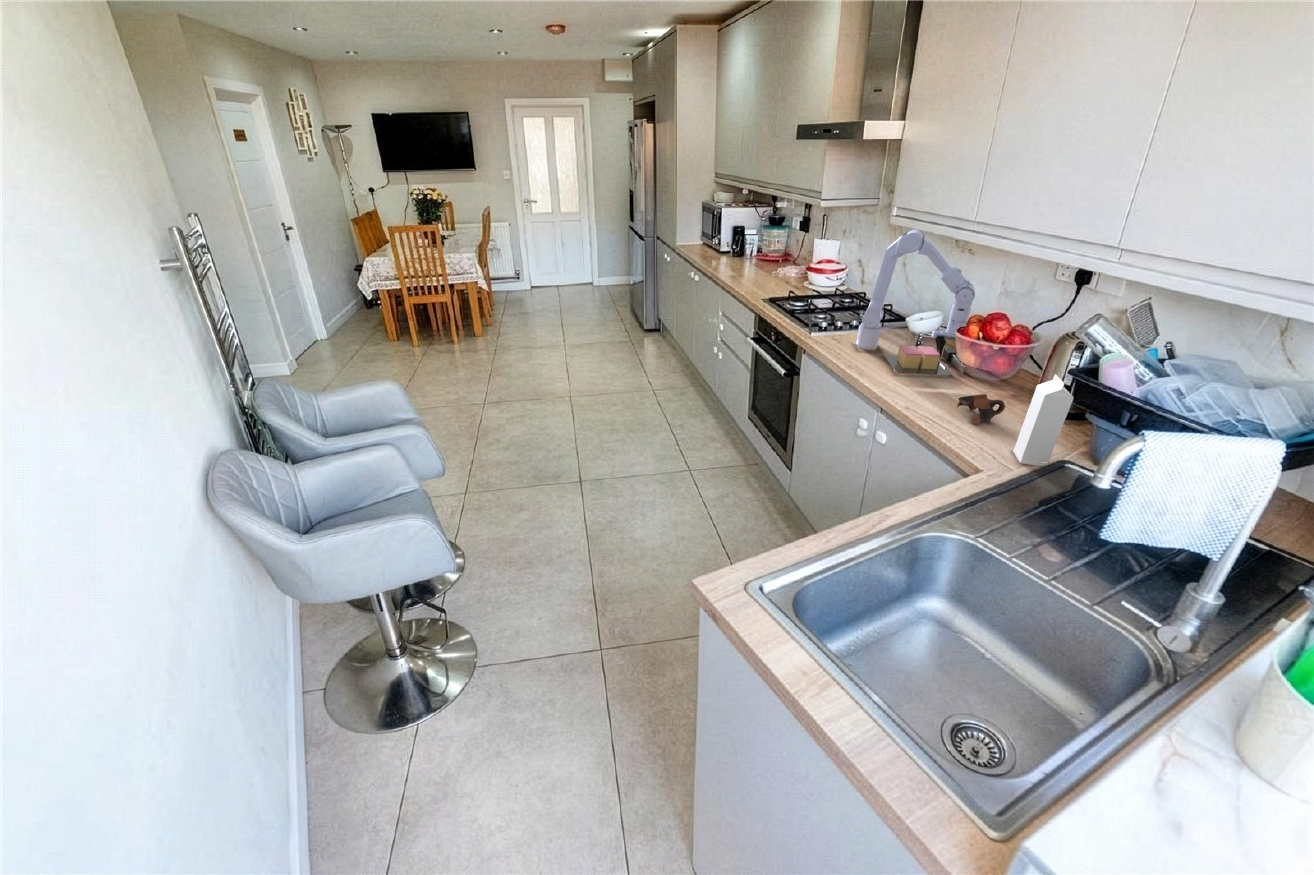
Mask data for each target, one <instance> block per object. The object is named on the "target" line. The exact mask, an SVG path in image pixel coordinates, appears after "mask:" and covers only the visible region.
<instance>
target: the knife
mask: <svg viewBox="0 0 1314 875" xmlns="http://www.w3.org/2000/svg"><path fill="white" fill-rule="evenodd" d="M956 354H957V351H955V350H954V349H953V348H952V347H944V348H943V351H942V355H941V358H943V359H944V360H945V361H946V362H950V363H951V365H952V366H953V367H954V368H955V369H956V370H957V371H958V372H959V373H960V374H961V375H964V374H965V371H966V367H965V366H966V365H965V366H961V363H960V361H961V360H960V359H959V358H957V357H956ZM958 359H959V360H960V361H959V360H958Z"/></svg>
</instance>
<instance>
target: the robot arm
mask: <svg viewBox="0 0 1314 875" xmlns="http://www.w3.org/2000/svg"><path fill="white" fill-rule="evenodd" d="M917 251H918V252H917ZM915 252H917V254H918V255H922V256H926V257H927V258H928V259H929V260H930V262H931V263H932V264H933V265H934V266H935V267H936V268H937V270H938V271H939V272H940V280H941V281H942V282H943V283H944V285H945V286H946V287H947V289H948V290H949V291H950V292H951V294H952V293H953V294H954V301H953V302H954V303H953V304H952V305H951V306H952V307H951V311H950V314H949V318H948V322H947V326H946V329H941V330H932V331H931V337H932V338H934V341H935V345H936V351H937V352H938V353H939V354H940V358H939V359H941V358H942V355H943V351H944V348H945V345H946V344H947V340H946V338H949V339H951V338H953V339H957V338H956V334H955V330H956V328H958V327H962V326H964V325H965V324H966V323H967V324H968V320H969V318H970V313H971V310H972V304H973V301H974V300H975V298H976V288H975V286H974V285H973V283H971V280H969V279H967V278H966V277H965V276H964V274H963V273H962V272H963V270H962V268H960V267H959V268H958V267H957V266H954V265H950V263H948V261H947V260H946V258H945V257H944V256H943V255H942V252H940V250H939V248H937V246H936V245H935V243H934V242H933V241H932V240H931V239H930V238H929V237H928V236H927V235H925V234H924V232H923V231H922V230H921V229H918V228H913V229H910V230H909V231H906V232H904V233H902V235H900V236H899V237H898V238H897V239H896V240H895V241H894V242H893V243H891V244H890V245H889V246H888V247H887V248H886V249H885V252H884V256H883V259H882V262H881V266H880V269H879V273H878V276H877V278H876V283H875V286H874V289H873V292H872V294H871V299H870V302H869V305H868V307H867V308H866V311H865V313H864V314H862V316H861V321H862V322H861V323H860V325H859V327H858V330H857V336H856V341H854V342H853V344H854V345H856V346H857V348H859V349H861V350H865V351H875V350H877V349H878V347H879V346H878V345H879V341H880V337H881V332H882V323H881V320H882V319H883V317H884V315H885V311H884V307H885V306H884V305H885V301H886V298H887V294H888V291H889V288H890V285H891V282H892V279H893V275H894V273H895V269H896V265H897V264H898V263H897V262H898V259H899V258H901V257H903V256H904V255H907V254H912V253H915ZM967 324H966V325H967Z"/></svg>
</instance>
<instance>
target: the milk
mask: <svg viewBox="0 0 1314 875" xmlns="http://www.w3.org/2000/svg"><path fill="white" fill-rule="evenodd" d="M1074 398H1075V397H1074V395H1072V394H1071V393H1070V391H1069V390H1067V389H1066V387H1065V382H1064V381H1063V380H1062V379H1061V378H1060V377H1059V376H1058V374H1056V373H1055V374H1054V376H1053V377H1052V379H1051V380H1048V381H1045V382H1042V383H1039V384H1037V385H1036V387H1035V390H1034V393H1033V396H1032V398H1031V401H1030V404H1029V406H1028V410H1027V412H1026V414H1025V417H1024V420H1023V424H1022V426H1021V429H1020V431H1019V435H1018V438H1017V440H1016V443H1015V446H1014V449H1013V454H1014V455H1015V458H1016V459H1017V461H1018V462H1019V464H1022V465H1029V466H1040V467H1045V466H1044V465H1047V466H1048V464H1049V461H1050V459H1051V457H1052V454H1053V451H1054V449H1055V446H1056V443H1057V441H1058V439H1059V437H1060V434H1061V432H1062V428H1063V426H1064V423H1065V421H1066V418H1067V416H1068V414H1069V411H1070V408H1071V406H1072V404H1073V401H1074ZM1035 461H1036V462H1035ZM1041 462H1048V463H1041Z"/></svg>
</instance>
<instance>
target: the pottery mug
mask: <svg viewBox="0 0 1314 875" xmlns="http://www.w3.org/2000/svg"><path fill="white" fill-rule="evenodd" d="M957 400H958V402H957V403H956V408H959V407H960V406H961V407H962V406H964V407H967V408H968V409H969V411H975V410H976V409H977V410H978V414H976V415H972V416H971V417H970V418H971V424H975V425H976V424H989V423H991V420H992V419H993V418H994V417H995V416H997V415H1000V414H1002V413H1003V411H1005V408H1006V405H1005V402H1004V401H1003V400H1001V399H990V398H988V394H987V393H980V394H973V395H964V396H959V397H958V398H957ZM996 405H998V408H997V409H994V407H995V406H996Z"/></svg>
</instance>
